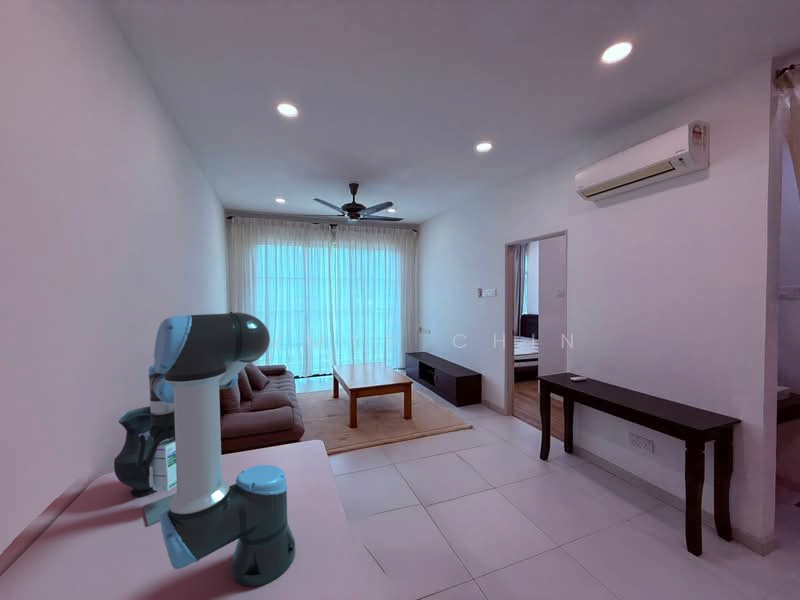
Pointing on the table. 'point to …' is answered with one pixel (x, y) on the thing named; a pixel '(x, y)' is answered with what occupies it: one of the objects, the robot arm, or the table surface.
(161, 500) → the mat
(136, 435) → the pitcher
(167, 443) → the syrup box
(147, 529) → the table surface
